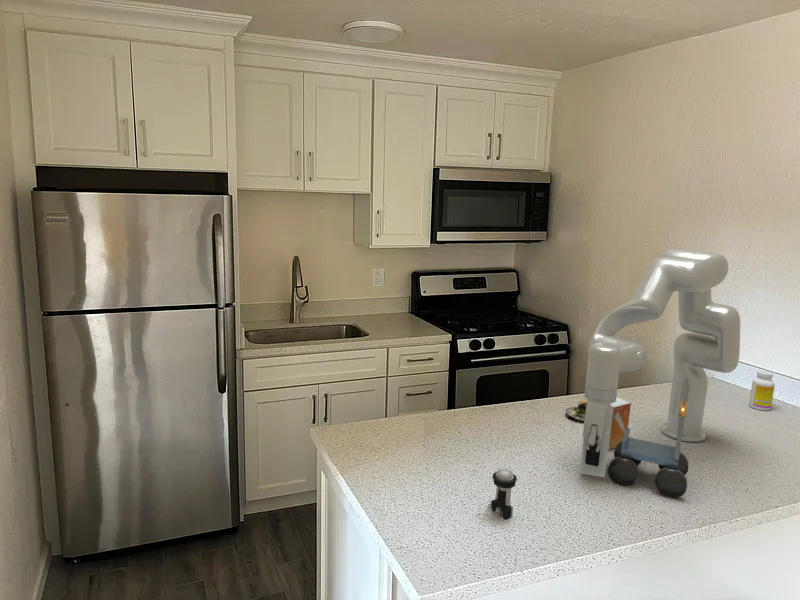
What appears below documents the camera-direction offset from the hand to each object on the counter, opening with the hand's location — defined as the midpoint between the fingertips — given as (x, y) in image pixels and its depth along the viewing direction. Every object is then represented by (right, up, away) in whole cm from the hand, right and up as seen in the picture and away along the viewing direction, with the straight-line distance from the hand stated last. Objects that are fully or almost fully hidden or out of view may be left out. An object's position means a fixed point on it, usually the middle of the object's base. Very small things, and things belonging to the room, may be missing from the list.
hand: (593, 459), depth 152 cm
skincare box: (0, -4, +1) cm, 4 cm away
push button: (-27, -7, -18) cm, 33 cm away
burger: (+10, +2, +41) cm, 42 cm away
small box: (+11, -1, +22) cm, 25 cm away
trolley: (+14, -5, 0) cm, 15 cm away
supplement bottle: (+77, +3, +57) cm, 95 cm away
